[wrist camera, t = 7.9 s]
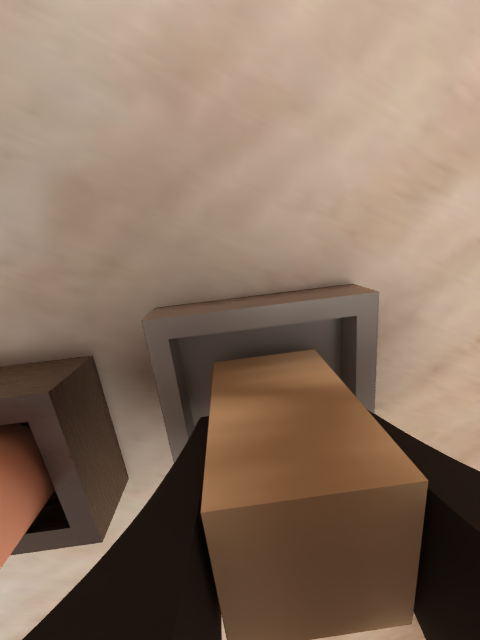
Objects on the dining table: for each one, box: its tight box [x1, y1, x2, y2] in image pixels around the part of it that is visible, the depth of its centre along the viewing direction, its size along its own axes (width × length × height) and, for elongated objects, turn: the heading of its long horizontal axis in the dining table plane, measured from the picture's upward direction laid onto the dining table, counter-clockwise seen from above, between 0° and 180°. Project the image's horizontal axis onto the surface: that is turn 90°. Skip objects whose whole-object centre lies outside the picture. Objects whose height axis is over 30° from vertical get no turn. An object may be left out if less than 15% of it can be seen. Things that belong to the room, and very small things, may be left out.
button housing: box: [0, 356, 128, 555], centre depth 11 cm, size 7×7×3 cm
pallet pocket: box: [142, 284, 379, 463], centre depth 11 cm, size 9×9×2 cm
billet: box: [201, 349, 428, 640], centre depth 8 cm, size 4×4×6 cm
